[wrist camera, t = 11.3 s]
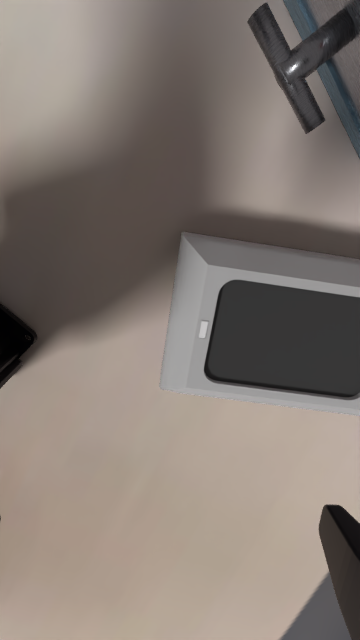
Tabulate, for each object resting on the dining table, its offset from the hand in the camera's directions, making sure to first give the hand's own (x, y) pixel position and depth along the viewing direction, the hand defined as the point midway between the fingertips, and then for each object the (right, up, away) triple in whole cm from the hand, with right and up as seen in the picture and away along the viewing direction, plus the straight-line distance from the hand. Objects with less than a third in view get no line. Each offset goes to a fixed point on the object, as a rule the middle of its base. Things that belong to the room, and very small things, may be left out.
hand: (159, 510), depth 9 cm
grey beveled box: (+7, +5, +13) cm, 16 cm away
